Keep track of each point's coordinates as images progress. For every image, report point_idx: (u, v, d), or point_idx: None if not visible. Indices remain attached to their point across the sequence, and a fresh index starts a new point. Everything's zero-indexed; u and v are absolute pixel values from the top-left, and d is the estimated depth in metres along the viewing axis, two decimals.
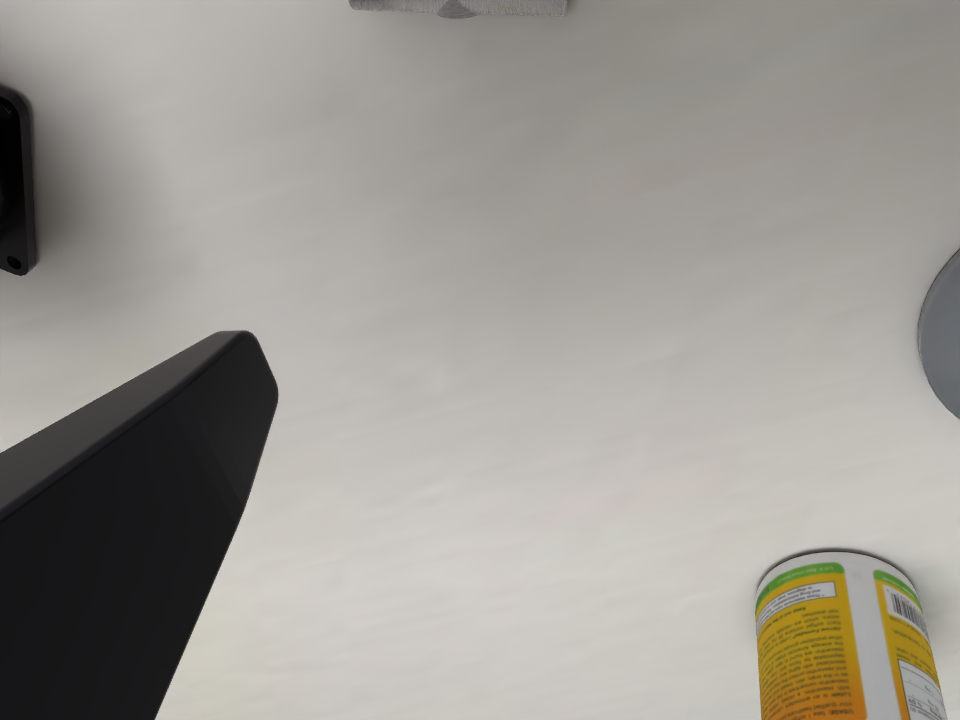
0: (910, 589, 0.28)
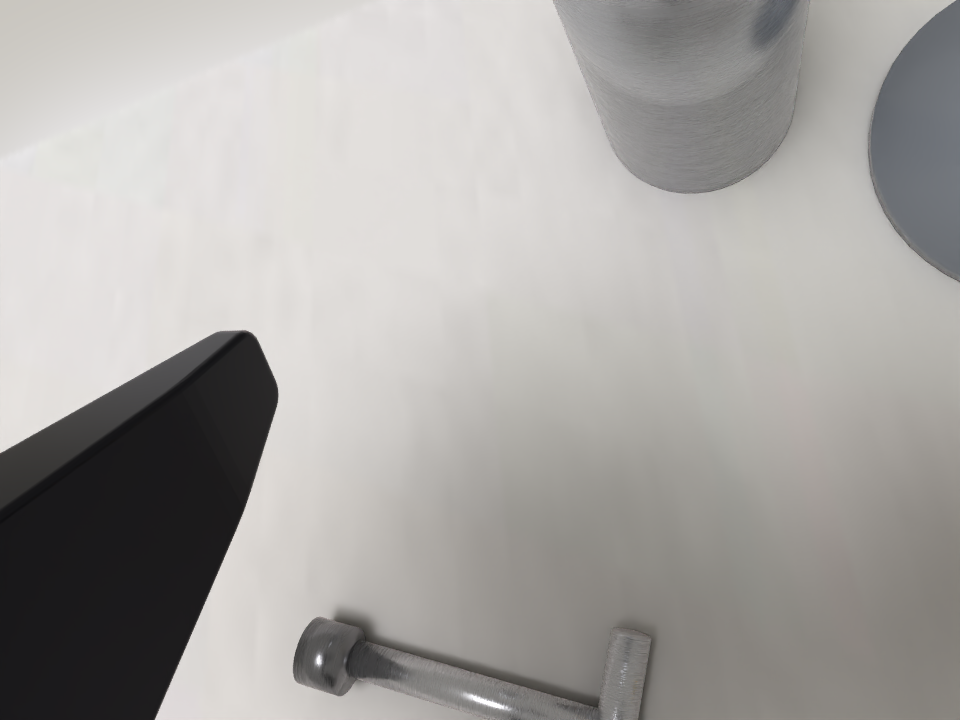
0: None
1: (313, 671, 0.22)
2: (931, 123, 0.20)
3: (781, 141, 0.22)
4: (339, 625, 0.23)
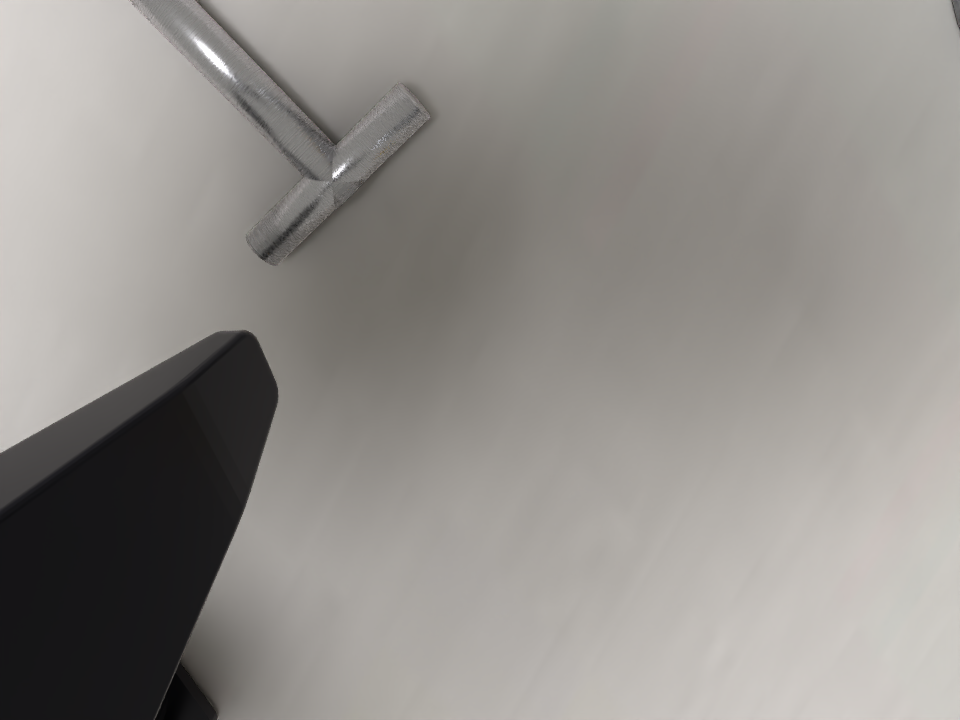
0: None
1: None
2: None
3: None
4: None
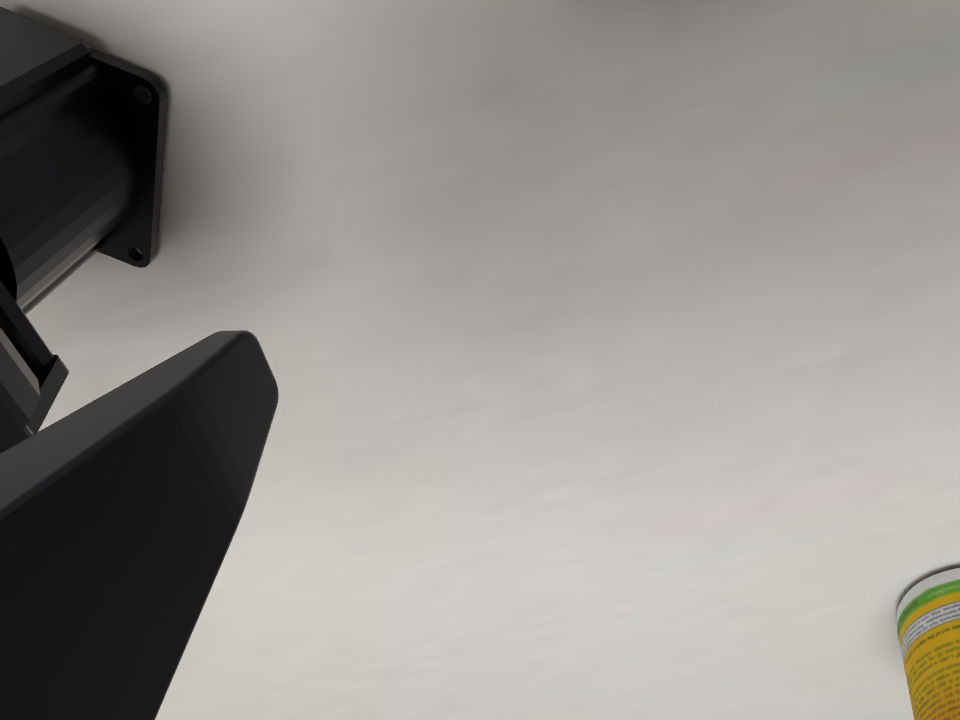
0: None
1: None
2: None
3: None
4: None
